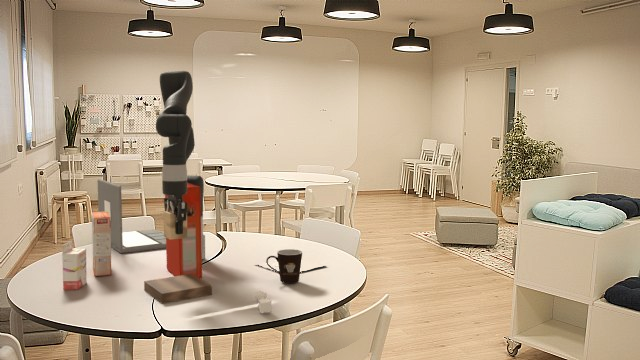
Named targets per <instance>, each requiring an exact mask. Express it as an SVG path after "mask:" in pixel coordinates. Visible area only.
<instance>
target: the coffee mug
mask: <svg viewBox="0 0 640 360" xmlns="http://www.w3.org/2000/svg"><path fill="white" fill-rule="evenodd" d="M276 253H277V256H276V255H269V256H268V257H267V258H266V261H265V263H267V265H268V266H269V267H270V268H271V269H273V270H274V271H273V272H275V271H276V272H275V273H278V275H279V279H280V282H281V283H282V284H283V283H284V284H295V283H299V281H300V274H301V273H300V268H301V260H302V259H303V251H302V250H300V249H293V248H292V249H291V248H289V249H288V248H287V249H279V250H277V252H276ZM271 258H274V259H275V261H276V260H277V262H278V264H279V271H277V270H276V269H274V268H273V267H271V266H270V265H269V264H268V262H269V259H271Z"/></svg>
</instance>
